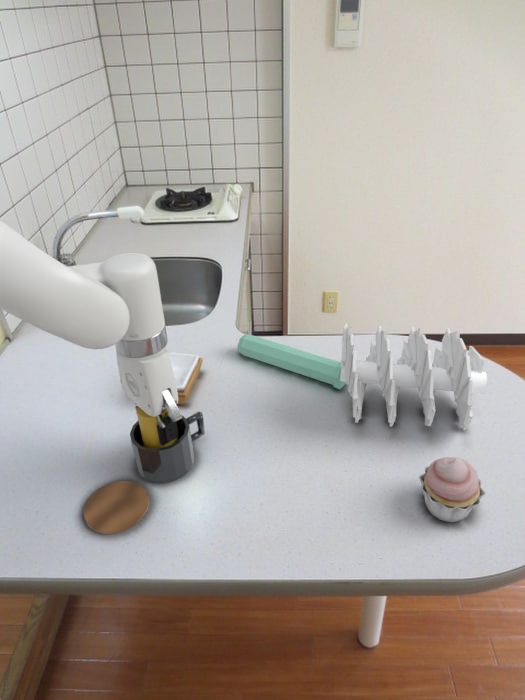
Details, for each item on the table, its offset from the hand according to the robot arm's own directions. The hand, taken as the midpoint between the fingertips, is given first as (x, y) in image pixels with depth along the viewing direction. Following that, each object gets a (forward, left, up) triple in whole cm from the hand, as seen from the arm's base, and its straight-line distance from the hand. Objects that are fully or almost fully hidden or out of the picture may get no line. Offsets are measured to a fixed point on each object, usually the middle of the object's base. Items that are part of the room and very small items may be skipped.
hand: (158, 429), depth 86 cm
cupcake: (+46, +4, -8) cm, 47 cm away
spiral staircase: (+38, +24, -8) cm, 46 cm away
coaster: (-3, -11, -8) cm, 14 cm away
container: (+13, +32, -8) cm, 36 cm away
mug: (+1, +2, -8) cm, 8 cm away
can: (0, 0, -7) cm, 7 cm away
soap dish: (-8, +19, -8) cm, 22 cm away
